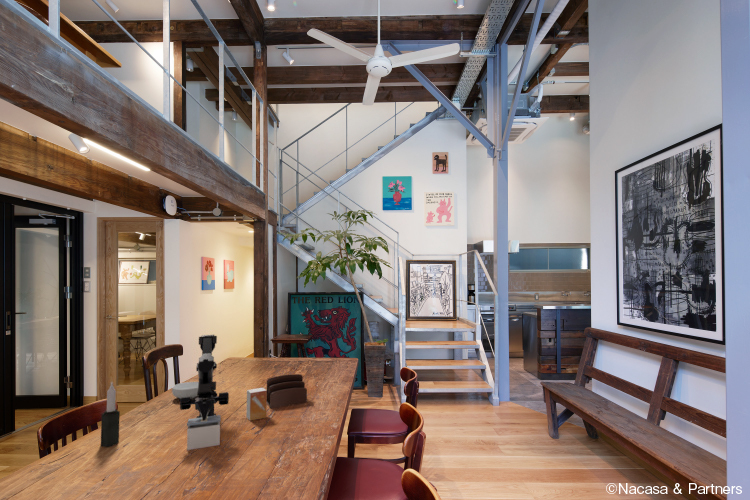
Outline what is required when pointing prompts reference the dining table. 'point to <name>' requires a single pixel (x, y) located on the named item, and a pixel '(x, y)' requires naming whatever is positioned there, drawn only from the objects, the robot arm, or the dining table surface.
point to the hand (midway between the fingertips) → (204, 420)
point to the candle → (110, 421)
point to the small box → (256, 403)
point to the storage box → (203, 435)
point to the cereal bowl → (185, 389)
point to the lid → (204, 420)
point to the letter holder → (286, 390)
